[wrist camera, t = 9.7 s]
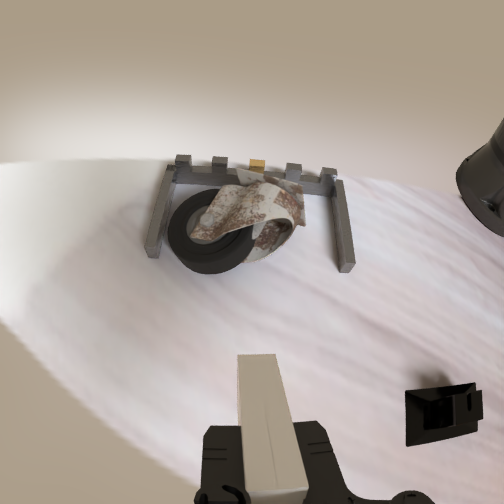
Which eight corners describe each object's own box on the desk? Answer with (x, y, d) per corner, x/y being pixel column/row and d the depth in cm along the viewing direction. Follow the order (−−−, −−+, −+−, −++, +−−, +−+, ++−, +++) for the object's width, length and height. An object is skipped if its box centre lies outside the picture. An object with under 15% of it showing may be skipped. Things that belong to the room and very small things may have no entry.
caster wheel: (169, 267, 34) (216, 194, 37) (265, 308, 30) (307, 222, 33) (141, 233, 28) (198, 154, 32) (253, 278, 24) (304, 179, 27)
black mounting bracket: (480, 375, 27) (507, 364, 23) (483, 437, 23) (512, 433, 19) (389, 384, 27) (413, 375, 23) (389, 458, 23) (415, 460, 19)
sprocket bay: (337, 191, 38) (346, 170, 35) (348, 273, 32) (361, 254, 29) (169, 176, 37) (166, 154, 34) (148, 257, 31) (141, 236, 28)
